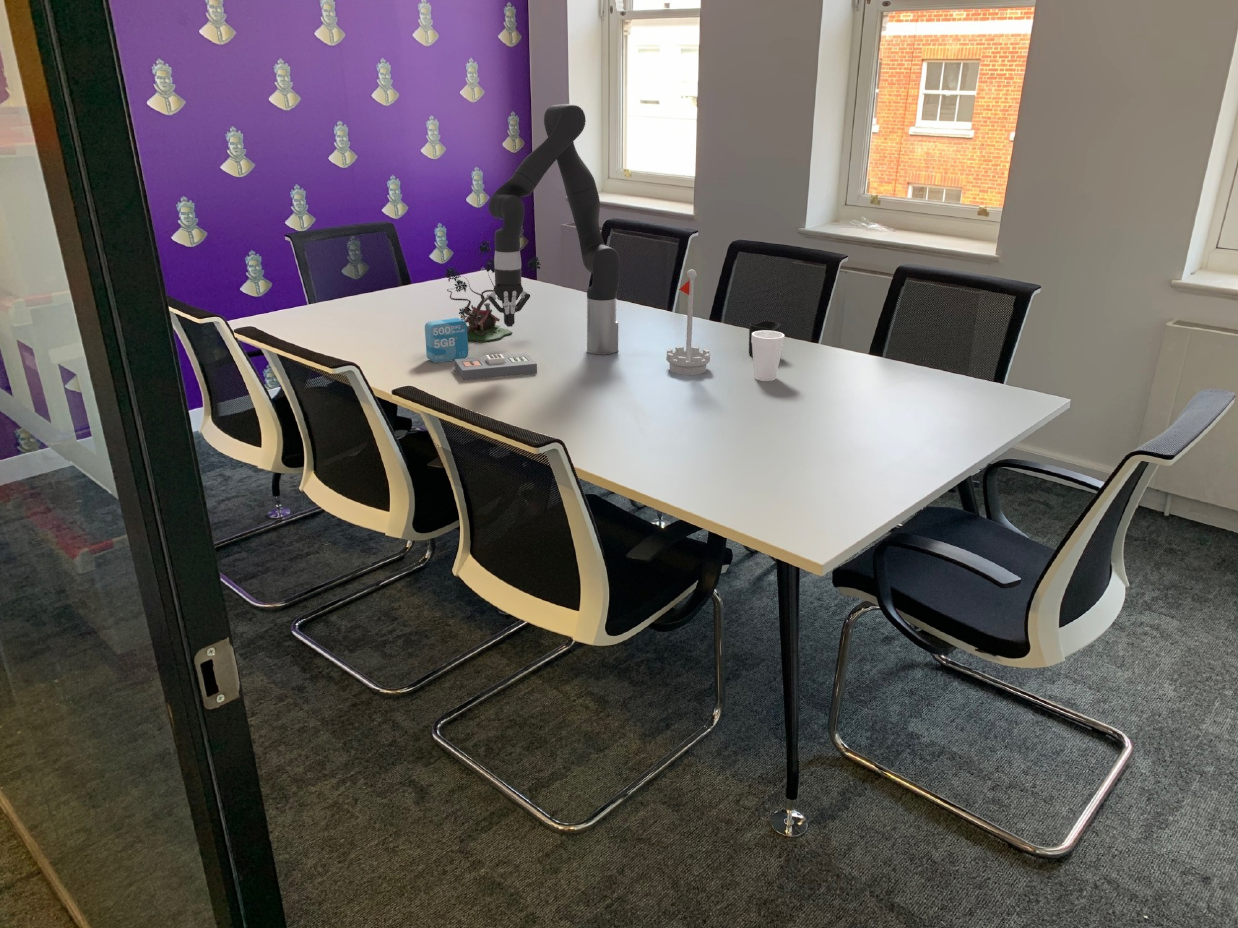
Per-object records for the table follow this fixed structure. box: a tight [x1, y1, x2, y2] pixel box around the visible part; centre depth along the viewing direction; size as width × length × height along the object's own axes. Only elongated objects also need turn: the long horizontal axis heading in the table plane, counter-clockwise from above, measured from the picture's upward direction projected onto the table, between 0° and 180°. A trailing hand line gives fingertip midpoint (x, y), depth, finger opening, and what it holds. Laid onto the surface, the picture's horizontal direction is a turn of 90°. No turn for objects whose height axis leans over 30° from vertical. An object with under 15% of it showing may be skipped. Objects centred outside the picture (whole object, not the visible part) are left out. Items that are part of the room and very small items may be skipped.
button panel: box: [454, 352, 538, 381], centre depth 279 cm, size 22×12×3 cm, turn 110°
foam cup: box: [751, 330, 785, 382], centre depth 274 cm, size 10×9×13 cm
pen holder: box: [748, 320, 781, 357], centre depth 297 cm, size 9×9×10 cm
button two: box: [509, 357, 528, 362], centre depth 282 cm, size 5×5×3 cm
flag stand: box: [666, 268, 711, 376], centre depth 278 cm, size 13×13×30 cm
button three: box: [485, 353, 505, 365], centre depth 279 cm, size 5×5×3 cm
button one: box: [463, 361, 481, 367], centre depth 277 cm, size 5×5×3 cm
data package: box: [424, 317, 469, 364], centre depth 289 cm, size 12×4×12 cm, turn 123°
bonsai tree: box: [445, 240, 541, 343], centre depth 312 cm, size 35×24×32 cm
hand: (509, 326), depth 276 cm, fingers closed
